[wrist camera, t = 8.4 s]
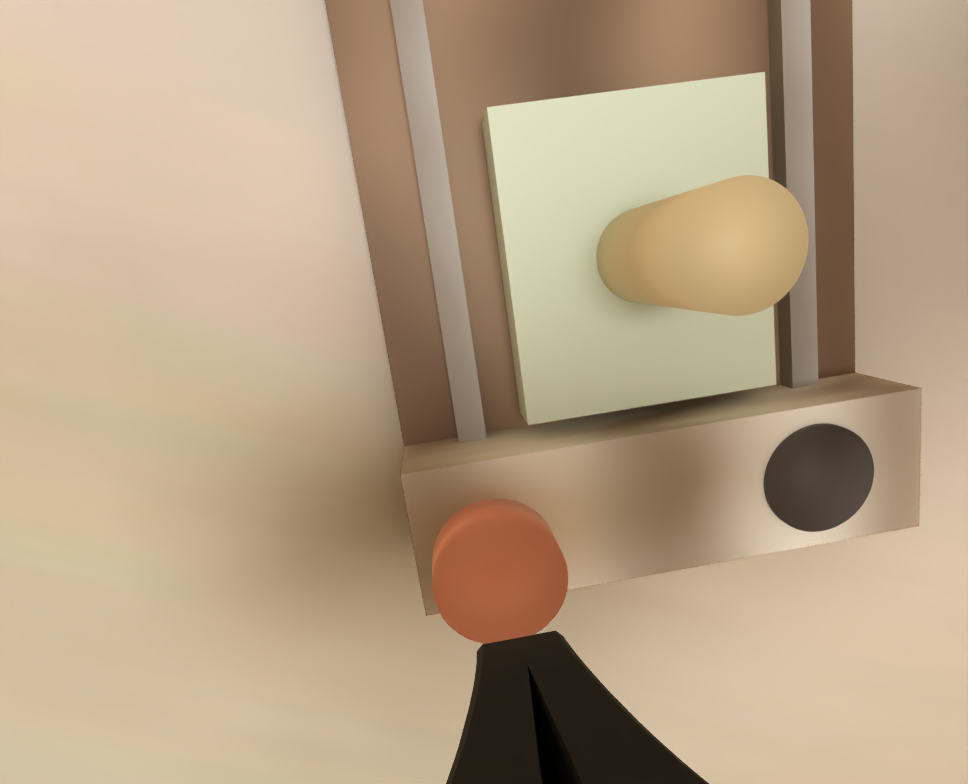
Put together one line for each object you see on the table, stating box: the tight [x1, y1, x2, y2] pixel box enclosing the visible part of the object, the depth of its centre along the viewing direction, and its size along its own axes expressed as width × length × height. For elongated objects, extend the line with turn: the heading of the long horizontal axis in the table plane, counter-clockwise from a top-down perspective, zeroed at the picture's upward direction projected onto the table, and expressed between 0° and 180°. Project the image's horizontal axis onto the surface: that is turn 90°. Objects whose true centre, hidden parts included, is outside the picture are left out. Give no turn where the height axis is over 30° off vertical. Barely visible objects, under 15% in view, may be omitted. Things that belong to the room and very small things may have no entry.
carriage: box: [482, 72, 809, 425], centre depth 13 cm, size 7×8×6 cm
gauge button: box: [432, 499, 568, 644], centre depth 13 cm, size 3×3×1 cm
